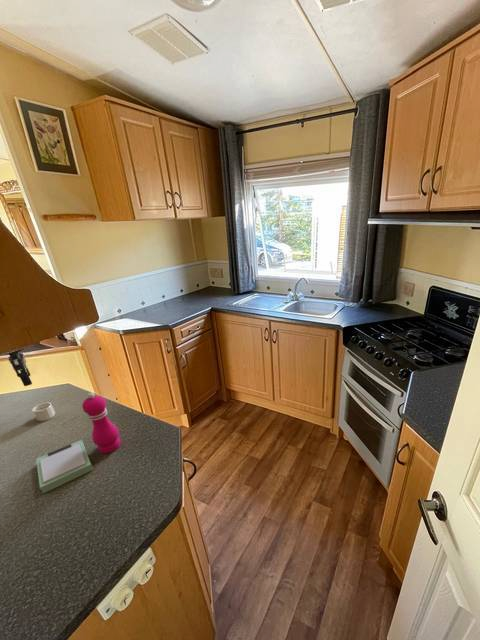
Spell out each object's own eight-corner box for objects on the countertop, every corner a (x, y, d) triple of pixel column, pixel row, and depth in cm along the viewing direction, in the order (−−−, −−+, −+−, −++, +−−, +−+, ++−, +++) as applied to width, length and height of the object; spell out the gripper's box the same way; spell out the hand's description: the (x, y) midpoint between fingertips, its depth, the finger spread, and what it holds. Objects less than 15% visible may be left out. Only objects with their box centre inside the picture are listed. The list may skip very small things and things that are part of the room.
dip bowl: (33, 422, 106) (28, 412, 104) (43, 413, 111) (38, 403, 109) (50, 420, 106) (45, 410, 104) (58, 411, 111) (54, 401, 109)
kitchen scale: (38, 464, 87) (35, 457, 85) (84, 445, 93) (81, 438, 92) (43, 493, 77) (38, 486, 75) (93, 469, 83) (90, 462, 82)
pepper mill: (102, 458, 87) (80, 403, 79) (93, 447, 92) (71, 394, 83) (126, 445, 92) (107, 391, 83) (117, 435, 97) (98, 384, 88)
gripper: (-8, 335, 98) (14, 377, 105) (-9, 347, 88) (14, 392, 95) (20, 329, 102) (39, 370, 109) (21, 340, 92) (42, 383, 99)
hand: (27, 380), depth 102 cm, fingers open, 8 cm apart
